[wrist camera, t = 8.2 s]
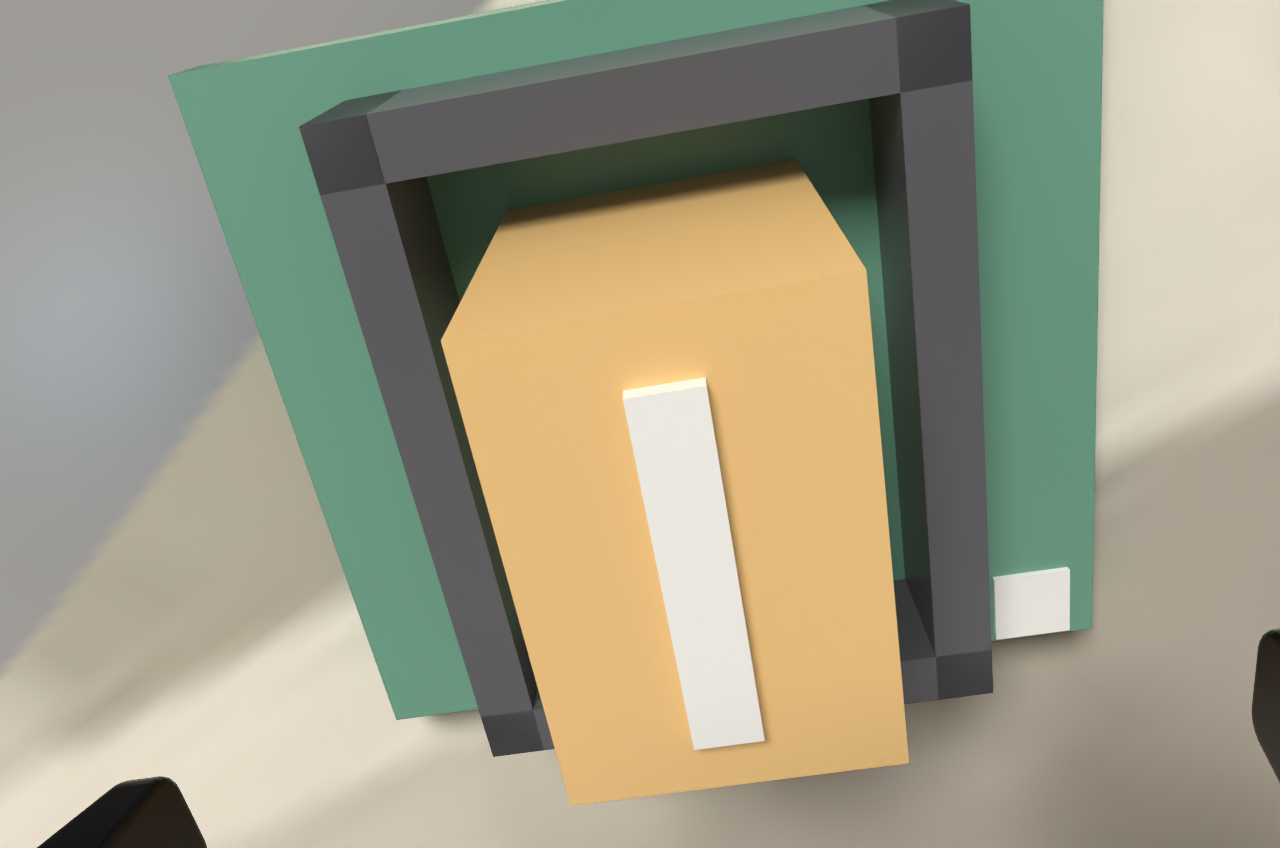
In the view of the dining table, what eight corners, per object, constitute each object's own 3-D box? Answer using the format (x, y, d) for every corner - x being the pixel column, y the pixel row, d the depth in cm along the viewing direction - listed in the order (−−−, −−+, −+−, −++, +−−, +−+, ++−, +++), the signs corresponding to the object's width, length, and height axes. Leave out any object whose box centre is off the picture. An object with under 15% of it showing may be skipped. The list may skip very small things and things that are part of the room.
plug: (838, 534, 16) (912, 775, 12) (592, 570, 17) (569, 819, 12) (795, 159, 14) (869, 275, 9) (507, 210, 14) (436, 348, 10)
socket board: (1069, 593, 18) (1144, 710, 15) (408, 683, 19) (368, 807, 16) (1074, -100, 13) (1182, -107, 11) (198, 66, 14) (93, 97, 12)
